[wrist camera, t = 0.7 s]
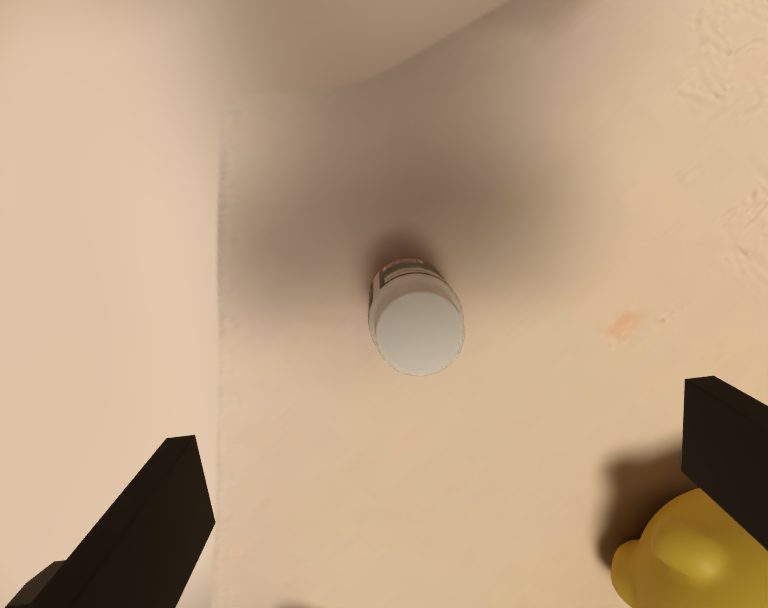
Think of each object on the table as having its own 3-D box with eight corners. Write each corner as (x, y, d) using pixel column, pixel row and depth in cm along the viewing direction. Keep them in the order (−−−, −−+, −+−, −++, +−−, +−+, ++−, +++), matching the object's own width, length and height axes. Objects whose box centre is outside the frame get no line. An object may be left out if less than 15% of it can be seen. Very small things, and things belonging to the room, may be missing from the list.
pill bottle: (419, 345, 30) (435, 404, 22) (354, 307, 30) (347, 353, 21) (461, 282, 29) (494, 320, 21) (396, 241, 29) (404, 264, 20)
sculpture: (556, 622, 33) (709, 790, 20) (593, 440, 35) (754, 482, 22) (751, 672, 34) (1019, 862, 21) (776, 493, 36) (1033, 563, 23)
